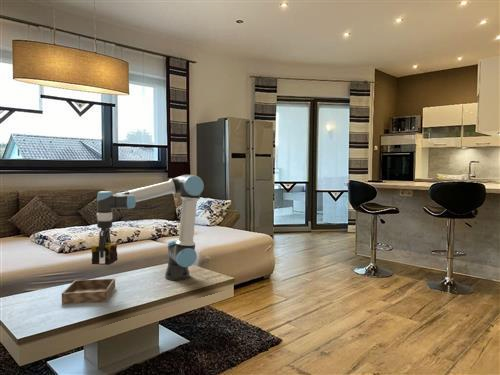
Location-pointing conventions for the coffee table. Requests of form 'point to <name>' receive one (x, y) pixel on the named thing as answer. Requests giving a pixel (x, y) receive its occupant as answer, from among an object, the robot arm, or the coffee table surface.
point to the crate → (88, 291)
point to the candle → (109, 253)
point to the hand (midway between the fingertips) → (104, 260)
